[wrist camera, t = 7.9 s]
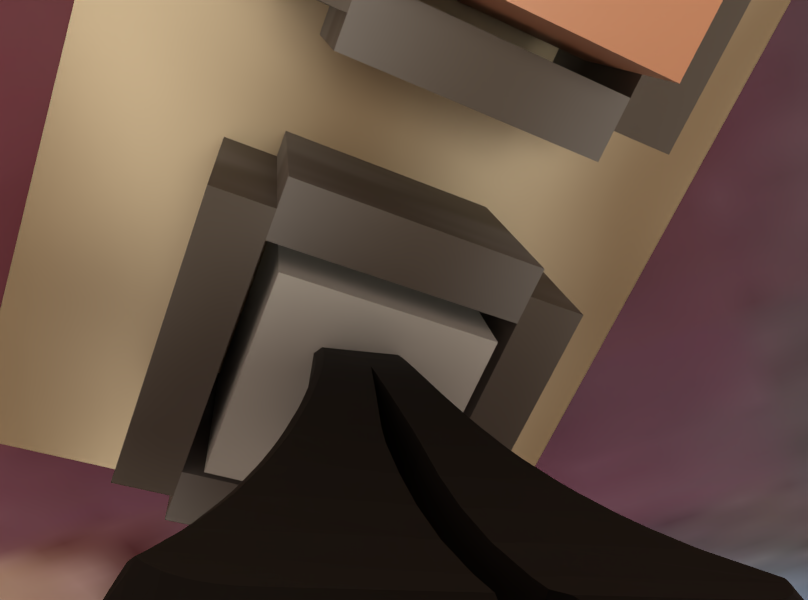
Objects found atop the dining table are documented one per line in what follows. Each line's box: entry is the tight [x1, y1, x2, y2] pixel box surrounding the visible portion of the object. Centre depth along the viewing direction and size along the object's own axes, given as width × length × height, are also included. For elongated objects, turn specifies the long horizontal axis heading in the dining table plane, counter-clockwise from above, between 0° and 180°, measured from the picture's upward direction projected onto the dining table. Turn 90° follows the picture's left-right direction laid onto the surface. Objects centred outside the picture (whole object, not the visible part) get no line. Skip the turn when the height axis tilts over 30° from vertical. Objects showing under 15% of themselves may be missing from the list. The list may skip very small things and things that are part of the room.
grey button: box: [204, 241, 498, 481], centre depth 13 cm, size 4×4×3 cm
